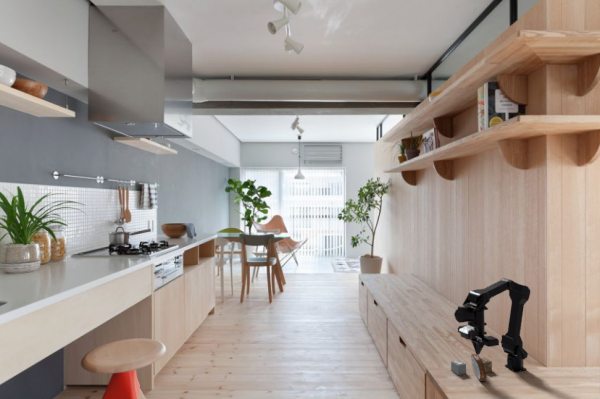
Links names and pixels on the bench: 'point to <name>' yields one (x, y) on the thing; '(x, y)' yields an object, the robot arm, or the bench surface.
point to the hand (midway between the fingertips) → (477, 354)
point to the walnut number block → (487, 364)
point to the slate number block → (458, 367)
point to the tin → (478, 367)
